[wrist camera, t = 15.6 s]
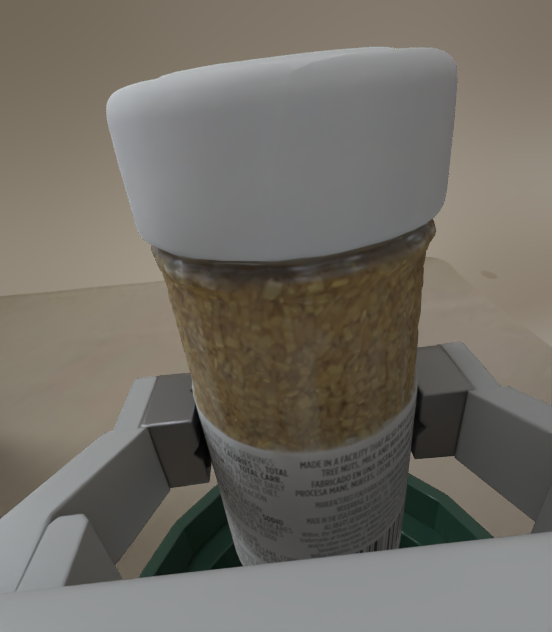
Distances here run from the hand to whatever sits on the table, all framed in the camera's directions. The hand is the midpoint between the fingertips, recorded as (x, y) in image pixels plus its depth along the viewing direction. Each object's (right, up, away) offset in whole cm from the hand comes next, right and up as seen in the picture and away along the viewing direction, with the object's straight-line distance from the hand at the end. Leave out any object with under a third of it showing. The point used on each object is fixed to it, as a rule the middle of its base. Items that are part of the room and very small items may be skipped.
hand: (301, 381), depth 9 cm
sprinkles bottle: (+1, -7, +3) cm, 7 cm away
